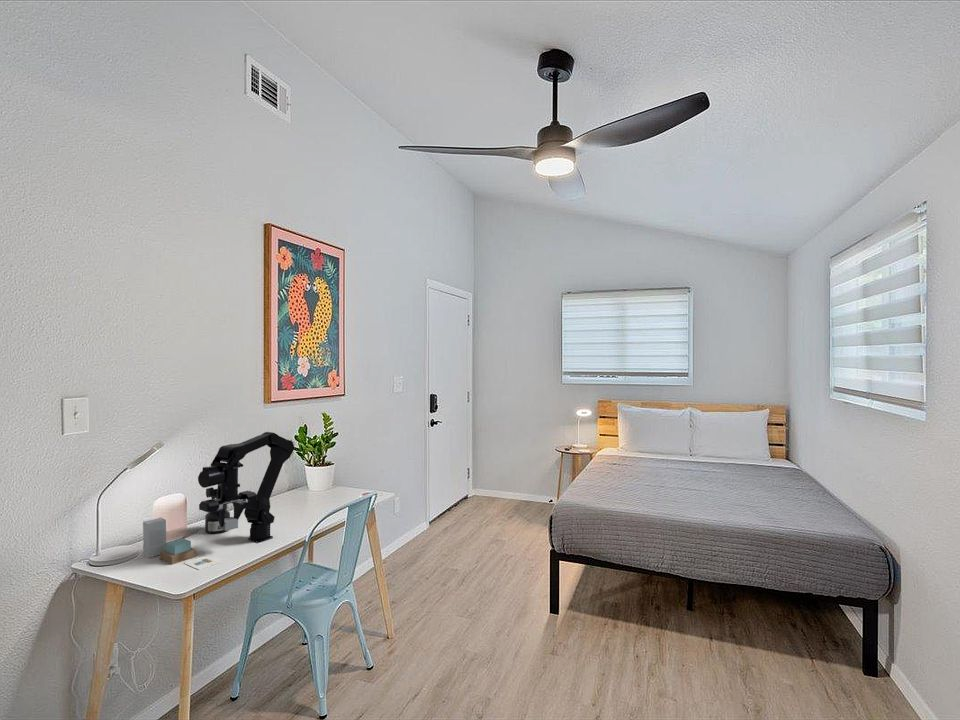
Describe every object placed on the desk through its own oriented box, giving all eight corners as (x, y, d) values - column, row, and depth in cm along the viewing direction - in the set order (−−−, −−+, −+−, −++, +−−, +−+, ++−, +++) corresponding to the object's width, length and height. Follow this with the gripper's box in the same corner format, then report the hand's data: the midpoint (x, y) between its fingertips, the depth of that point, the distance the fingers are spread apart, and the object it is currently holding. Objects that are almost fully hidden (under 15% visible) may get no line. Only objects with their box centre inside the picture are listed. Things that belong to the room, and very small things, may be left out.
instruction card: (204, 556, 182) (204, 555, 182) (219, 562, 177) (219, 561, 177) (184, 563, 176) (184, 562, 176) (198, 569, 171) (198, 569, 171)
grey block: (232, 525, 189) (232, 516, 189) (238, 527, 187) (238, 519, 186) (219, 528, 186) (219, 519, 186) (225, 530, 183) (225, 522, 183)
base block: (183, 553, 186) (183, 544, 186) (195, 558, 182) (195, 549, 182) (159, 560, 179) (159, 551, 179) (172, 565, 175) (172, 557, 175)
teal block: (181, 546, 184) (181, 537, 184) (190, 549, 181) (190, 540, 181) (165, 551, 179) (165, 542, 179) (174, 554, 177) (174, 546, 177)
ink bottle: (208, 536, 201) (208, 505, 201) (200, 530, 207) (200, 500, 207) (234, 530, 208) (234, 500, 208) (226, 525, 214) (226, 496, 214)
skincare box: (161, 550, 187) (161, 517, 187) (166, 553, 184) (166, 519, 184) (142, 555, 182) (142, 521, 182) (147, 558, 180) (147, 523, 179)
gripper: (239, 473, 198) (239, 514, 198) (190, 483, 182) (190, 527, 183) (257, 477, 192) (257, 519, 192) (208, 488, 176) (208, 534, 177)
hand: (228, 524), depth 186 cm, fingers closed on grey block, 5 cm apart
